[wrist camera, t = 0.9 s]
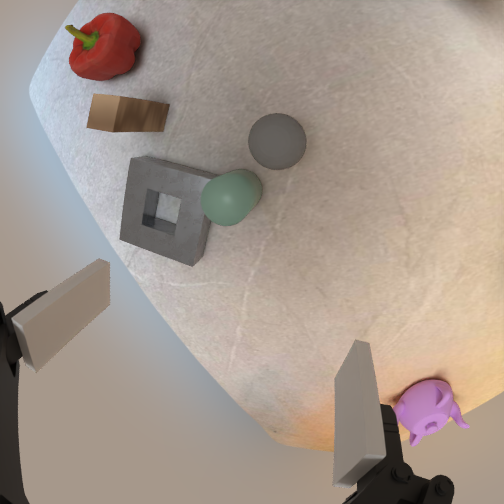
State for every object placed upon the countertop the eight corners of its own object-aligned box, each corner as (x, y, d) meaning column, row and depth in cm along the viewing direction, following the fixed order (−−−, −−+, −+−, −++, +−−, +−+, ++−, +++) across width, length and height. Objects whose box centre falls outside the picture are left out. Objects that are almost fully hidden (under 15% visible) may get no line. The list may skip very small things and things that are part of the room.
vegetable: (85, 62, 37) (43, 54, 28) (124, 13, 33) (85, -6, 24) (119, 96, 38) (76, 91, 29) (163, 43, 34) (126, 24, 25)
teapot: (458, 396, 45) (469, 428, 37) (398, 425, 50) (403, 458, 42) (446, 362, 43) (461, 396, 35) (379, 396, 48) (384, 432, 40)
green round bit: (227, 164, 39) (207, 169, 32) (267, 176, 39) (255, 184, 31) (217, 203, 41) (196, 217, 34) (255, 215, 41) (242, 232, 33)
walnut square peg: (146, 100, 38) (93, 93, 27) (169, 104, 38) (120, 96, 26) (139, 127, 39) (86, 127, 28) (163, 131, 39) (112, 132, 28)
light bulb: (307, 165, 37) (305, 172, 28) (260, 165, 38) (243, 172, 29) (307, 118, 35) (305, 110, 26) (259, 119, 36) (241, 112, 27)
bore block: (145, 155, 41) (130, 158, 37) (222, 176, 40) (212, 180, 36) (133, 231, 45) (119, 239, 42) (202, 256, 44) (192, 266, 41)
